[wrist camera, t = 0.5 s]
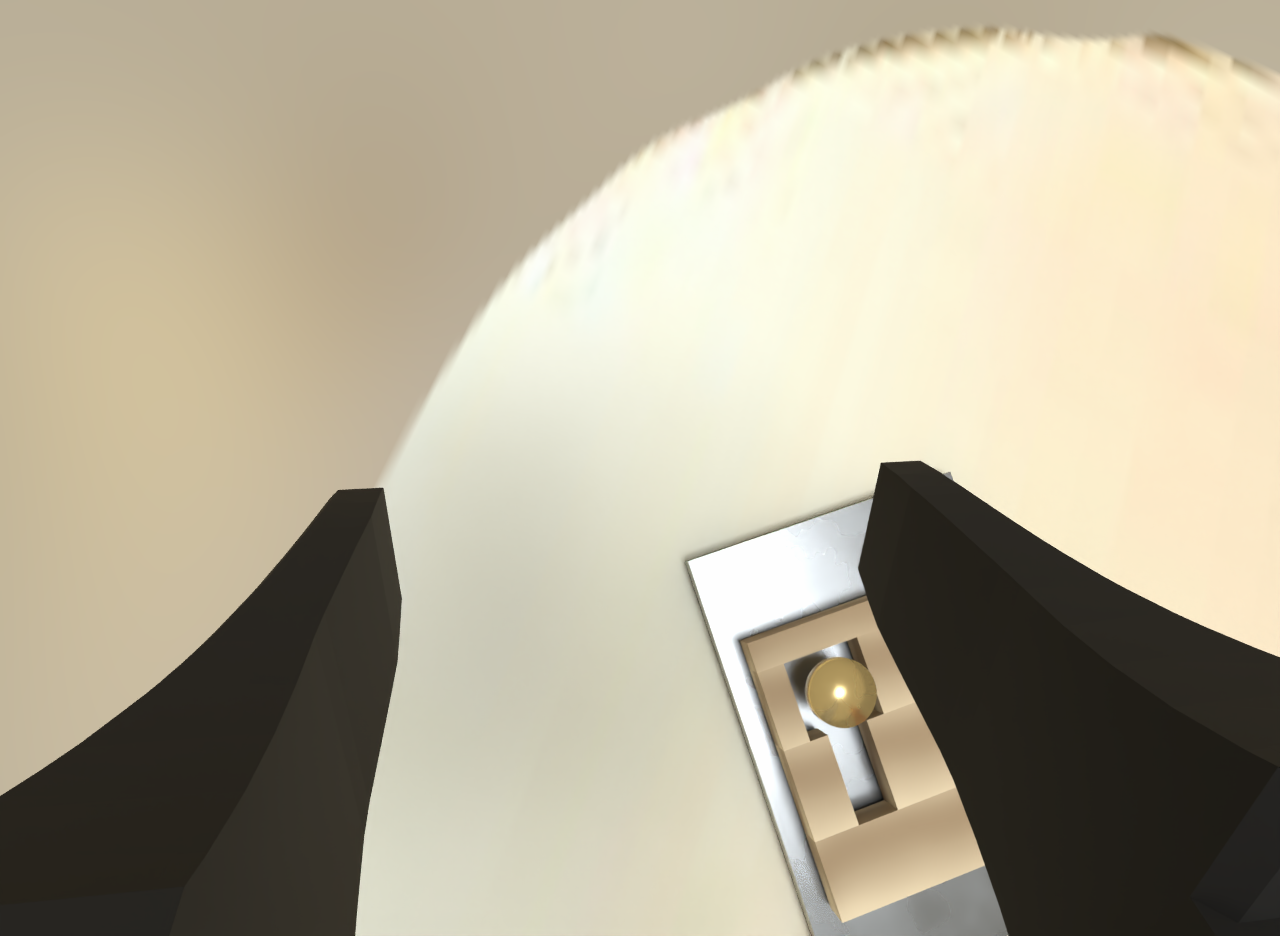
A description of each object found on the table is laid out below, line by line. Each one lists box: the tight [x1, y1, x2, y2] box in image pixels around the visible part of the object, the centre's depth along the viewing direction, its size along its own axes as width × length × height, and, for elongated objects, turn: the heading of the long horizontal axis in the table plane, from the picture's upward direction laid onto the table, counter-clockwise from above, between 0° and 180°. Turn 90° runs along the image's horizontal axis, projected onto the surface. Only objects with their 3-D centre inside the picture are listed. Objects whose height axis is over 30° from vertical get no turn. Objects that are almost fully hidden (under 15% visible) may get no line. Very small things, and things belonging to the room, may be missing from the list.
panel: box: [740, 596, 985, 923], centre depth 38 cm, size 12×11×2 cm
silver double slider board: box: [685, 472, 1008, 936], centre depth 38 cm, size 20×13×4 cm, turn 19°
